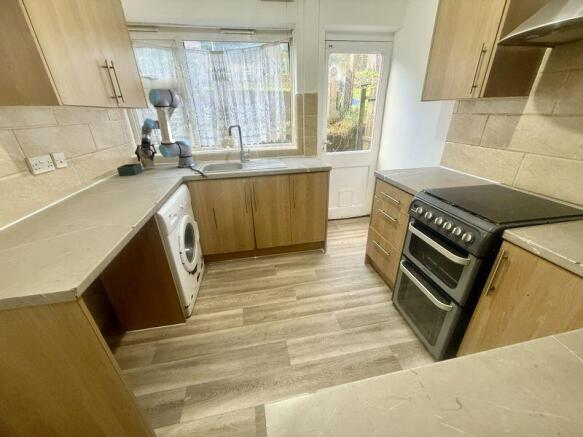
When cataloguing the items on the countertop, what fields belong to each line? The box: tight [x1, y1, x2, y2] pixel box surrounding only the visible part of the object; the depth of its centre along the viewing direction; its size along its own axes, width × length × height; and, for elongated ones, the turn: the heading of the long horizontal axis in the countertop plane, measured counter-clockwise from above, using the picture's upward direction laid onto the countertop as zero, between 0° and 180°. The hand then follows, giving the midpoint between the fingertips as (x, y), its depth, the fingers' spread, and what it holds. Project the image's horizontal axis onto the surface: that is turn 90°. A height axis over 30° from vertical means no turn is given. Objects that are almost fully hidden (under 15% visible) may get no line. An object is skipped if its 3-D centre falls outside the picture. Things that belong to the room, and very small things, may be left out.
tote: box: [116, 163, 143, 177], centre depth 209 cm, size 15×13×7 cm
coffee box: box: [138, 148, 156, 169], centre depth 221 cm, size 9×6×16 cm
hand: (145, 160), depth 219 cm, fingers closed on coffee box, 10 cm apart
